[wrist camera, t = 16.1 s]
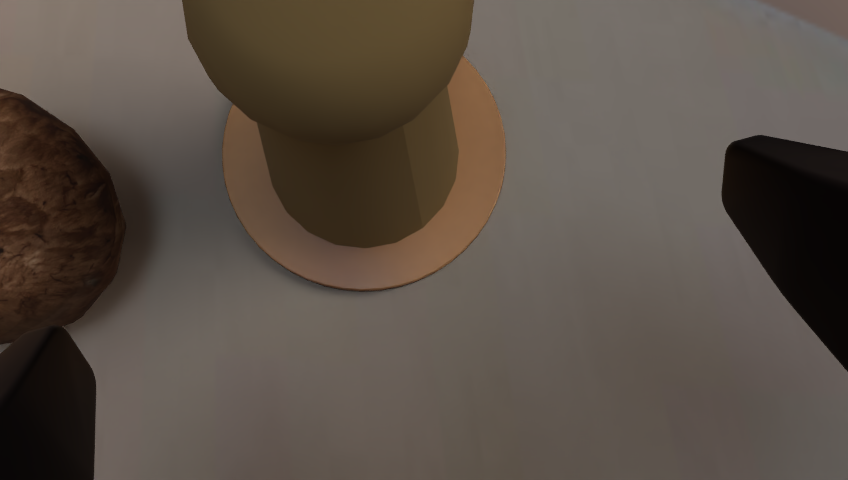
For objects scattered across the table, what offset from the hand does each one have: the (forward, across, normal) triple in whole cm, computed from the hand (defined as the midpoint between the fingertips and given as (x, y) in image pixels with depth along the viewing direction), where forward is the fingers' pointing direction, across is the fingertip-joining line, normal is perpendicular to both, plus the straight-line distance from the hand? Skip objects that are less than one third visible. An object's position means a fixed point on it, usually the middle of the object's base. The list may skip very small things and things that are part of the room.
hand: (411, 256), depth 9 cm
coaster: (+12, 0, +5) cm, 13 cm away
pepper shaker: (+12, 0, +5) cm, 13 cm away
